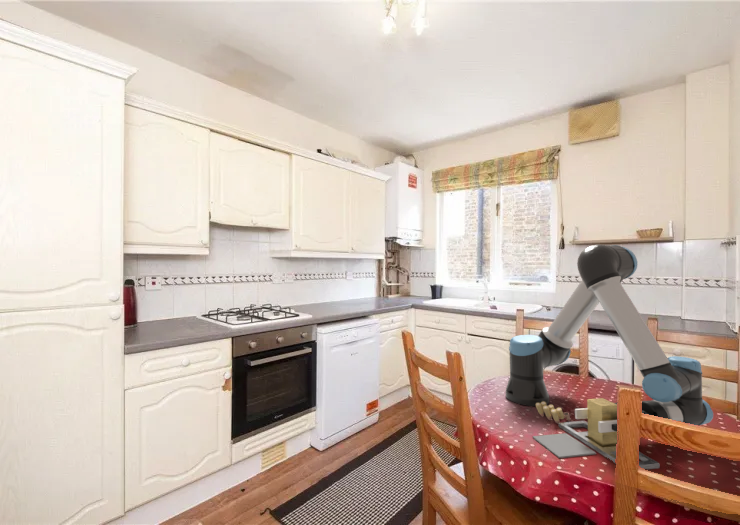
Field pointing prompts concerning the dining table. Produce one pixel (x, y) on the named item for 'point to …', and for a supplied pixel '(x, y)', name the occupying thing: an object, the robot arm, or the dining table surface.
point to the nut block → (601, 412)
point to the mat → (563, 445)
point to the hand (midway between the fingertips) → (587, 420)
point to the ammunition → (552, 412)
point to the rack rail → (606, 451)
